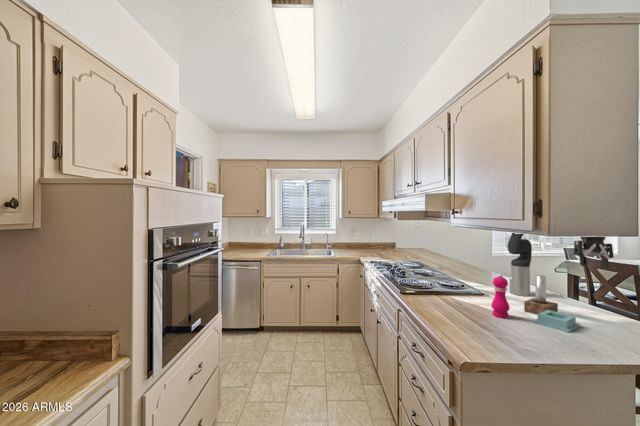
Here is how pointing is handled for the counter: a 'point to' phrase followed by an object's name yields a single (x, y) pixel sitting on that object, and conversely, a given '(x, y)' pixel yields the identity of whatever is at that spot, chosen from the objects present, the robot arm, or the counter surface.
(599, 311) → the counter surface
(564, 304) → the counter surface
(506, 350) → the counter surface
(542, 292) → the axle
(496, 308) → the pepper mill
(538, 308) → the bore block
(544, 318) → the socket
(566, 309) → the counter surface
